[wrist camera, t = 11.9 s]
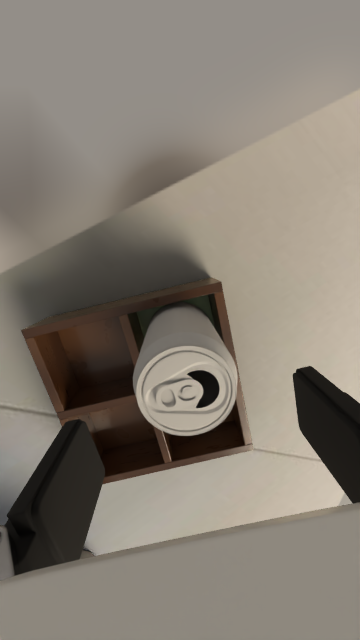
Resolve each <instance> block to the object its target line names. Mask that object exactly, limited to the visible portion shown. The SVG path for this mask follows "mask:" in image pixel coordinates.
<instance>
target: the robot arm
mask: <svg viewBox="0 0 360 640" xmlns="http://www.w3.org/2000/svg"><path fill="white" fill-rule="evenodd" d="M293 382H294V390H295V398H296V406H297V415H298V423H299V427H300V430H301V432H302V434H303V435H304V436H305V438H306V439H307V441H308V442H309V443H310V445H311V446H312V448H313V449H314V450H315V452H316V453H317V454H318V456H319V457H320V459H321V460H322V461H323V463H324V464H325V466H326V467H327V468H328V470H329V471H330V472H331V474H332V475H333V477H334V478H335V479H336V481H337V482H338V484H339V485H340V486H341V488H342V489H343V490H344V492H345V493H346V495H347V496H348V497H349V499H350V500H351V501H352V503H353V504H348V505H342V506H337V507H331V508H326V509H320V510H315V511H310V512H305V513H300V514H295V515H290V516H285V517H280V518H275V519H270V520H265V521H260V522H255V523H250V524H245V525H240V526H235V527H231V528H226V529H221V530H216V531H211V532H206V533H202V534H197V535H192V536H187V537H182V538H178V539H173V540H168V541H163V542H159V543H154V544H149V545H144V546H140V547H135V548H130V549H126V550H121V551H117V552H112V553H107V554H103V555H98V556H93V557H89V558H84V559H80V557H81V553H82V550H83V547H84V543H85V540H86V537H87V533H88V530H89V527H90V523H91V520H92V517H93V513H94V510H95V507H96V503H97V500H98V497H99V493H100V490H101V487H102V484H103V480H104V477H105V468H104V465H103V463H102V461H101V458H100V456H99V453H98V451H97V448H96V446H95V443H94V441H93V439H92V436H91V434H90V431H89V429H88V426H87V424H86V422H85V421H82V420H81V419H76V420H71V421H67V422H65V424H64V425H63V427H62V428H61V430H60V432H59V433H58V435H57V436H56V438H55V439H54V441H53V443H52V444H51V446H50V447H49V449H48V451H47V452H46V454H45V455H44V457H43V459H42V460H41V462H40V463H39V465H38V466H37V468H36V470H35V471H34V473H33V474H32V476H31V478H30V479H29V481H28V482H27V484H26V486H25V487H24V489H23V490H22V492H21V493H20V495H19V497H18V498H17V500H16V501H15V503H14V505H13V506H12V508H11V509H10V511H9V513H8V514H7V517H8V521H7V523H6V524H5V526H3V525H0V640H360V403H358V402H357V401H356V400H355V399H353V398H352V397H351V396H350V395H348V394H347V393H345V392H342V391H341V390H340V389H339V388H337V387H336V386H335V385H334V384H333V383H331V382H330V381H329V380H328V379H326V378H325V377H324V376H323V375H321V374H320V373H319V372H318V371H317V370H315V369H314V368H313V367H311V366H308V367H304V368H300V369H297V370H296V373H294V374H293Z"/></svg>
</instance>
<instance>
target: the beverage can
mask: <svg viewBox="0 0 360 640" xmlns="http://www.w3.org/2000/svg"><path fill="white" fill-rule="evenodd" d="M237 380H238V376H237V369H236V365H235V362H234V360H233V358H232V356H231V355H230V353H229V351H228V350H227V348H226V346H225V345H224V343H223V341H222V340H221V338H220V336H219V335H218V333H217V332H216V330H215V328H214V327H213V325H212V323H211V322H210V320H209V318H208V317H207V315H206V314H205V313H204V312H203V311H202V310H201V309H200V308H199V307H197V306H195V305H193V304H190V303H186V302H175V303H171V304H168V305H166V306H164V307H162V308H161V309H159V310H158V311H157V312H156V313H155V314H154V316H153V317H152V319H151V321H150V324H149V327H148V330H147V333H146V336H145V339H144V342H143V345H142V348H141V351H140V354H139V357H138V360H137V363H136V366H135V369H134V374H133V388H134V392H135V396H136V398H137V402H138V406H139V408H140V410H141V412H142V414H143V415H144V417H145V418H146V419H147V420H148V421H149V422H150V423H151V424H152V425H153V426H155V427H156V428H158V429H160V430H161V431H164V432H166V433H169V434H173V435H179V436H192V435H198V434H201V433H205V432H207V431H209V430H211V429H213V428H215V427H216V426H218V425H219V424H220V423H221V422H222V421H223V420H225V418H226V417H227V416H228V415H229V413H230V412H231V410H232V408H233V405H234V403H235V400H236V395H237Z"/></svg>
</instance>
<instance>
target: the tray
mask: <svg viewBox="0 0 360 640" xmlns="http://www.w3.org/2000/svg"><path fill="white" fill-rule="evenodd" d="M175 302H186V303H190V304H193V305H195V306H197V307H199V308H200V309H201V310H202V311H203V312H204V313H205V314H206V315H207V317H208V318H209V320H210V322H211V323H212V325H213V327H214V328H215V330H216V332H217V333H218V335H219V336H220V338H221V340H222V341H223V343H224V345H225V346H226V348H227V350H228V351H229V353H230V355H231V356H232V358H233V360H234V362H235V365H236V369H237V376H238V380H237V395H236V400H235V403H234V405H233V408H232V410H231V412H230V413H229V415H228V416H227V417H226V418H225V420H223V421H222V422H221V423H220V424H219V425H218V426H216V427H215V428H213V429H211V430H209V431H207V432H205V433H201V434H198V435H192V436H179V435H173V434H169V433H166V432H164V431H161V430H160V429H158V428H156V427H155V426H153V425H152V424H151V423H150V422H149V421H148V420H147V419H146V418H145V417H144V415H143V414H142V412H141V410H140V408H139V406H138V402H137V398H136V396H135V392H134V388H133V374H134V369H135V366H136V363H137V360H138V357H139V354H140V351H141V348H142V345H143V342H144V339H145V336H146V333H147V330H148V327H149V324H150V321H151V319H152V317H153V316H154V314H155V313H156V312H157V311H158V310H159V309H161V308H162V307H164V306H166V305H168V304H171V303H175ZM21 331H22V334H23V336H24V338H25V341H26V343H27V345H28V348H29V350H30V352H31V355H32V357H33V359H34V362H35V364H36V366H37V369H38V371H39V373H40V376H41V378H42V380H43V383H44V385H45V388H46V390H47V392H48V395H49V397H50V399H51V402H52V404H53V406H54V409H55V411H56V413H57V415H58V418H59V420H60V423H61V425H62V427H63V425H64V424H65V422H67V421H71V420H76V419H81V420H82V421H85V422H86V424H87V426H88V429H89V431H90V434H91V436H92V439H93V441H94V443H95V446H96V448H97V451H98V453H99V456H100V458H101V461H102V463H103V465H104V468H105V477H104V480H103V484H106V483H110V482H114V481H119V480H123V479H128V478H132V477H136V476H141V475H145V474H150V473H154V472H158V471H163V470H167V469H171V468H176V467H180V466H185V465H189V464H193V463H198V462H202V461H207V460H211V459H215V458H220V457H224V456H229V455H233V454H237V453H242V452H246V451H251V450H253V444H252V439H251V434H250V429H249V424H248V419H247V413H246V408H245V403H244V398H243V393H242V388H241V382H240V378H239V372H238V367H237V362H236V356H235V351H234V346H233V341H232V336H231V331H230V325H229V320H228V315H227V310H226V305H225V300H224V294H223V289H222V284H221V282H220V281H218V280H216V279H214V278H207V279H203V280H198V281H194V282H190V283H186V284H182V285H178V286H174V287H170V288H166V289H162V290H158V291H153V292H149V293H145V294H141V295H137V296H133V297H129V298H125V299H121V300H117V301H112V302H108V303H104V304H100V305H96V306H92V307H88V308H84V309H80V310H76V311H72V312H67V313H63V314H59V315H55V316H51V317H48V318H46V319H44V320H42V321H39V322H37V323H35V324H33V325H31V326H29V327H27V328H25V329H23V330H21Z"/></svg>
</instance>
